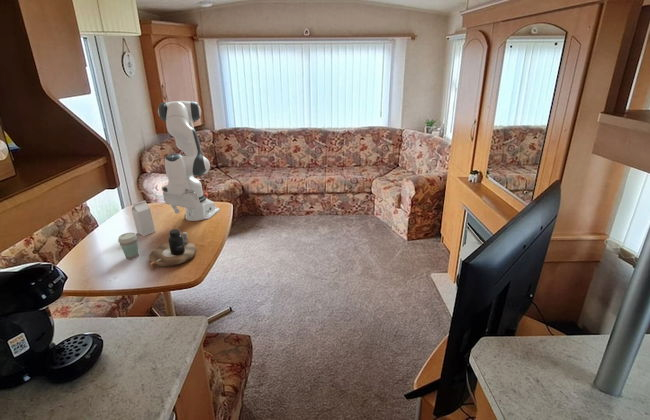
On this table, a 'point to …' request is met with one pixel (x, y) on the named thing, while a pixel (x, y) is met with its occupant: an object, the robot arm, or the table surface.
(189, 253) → the turntable
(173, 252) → the supplement bottle
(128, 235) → the coffee cup
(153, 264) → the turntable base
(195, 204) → the robot arm
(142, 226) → the milk carton
